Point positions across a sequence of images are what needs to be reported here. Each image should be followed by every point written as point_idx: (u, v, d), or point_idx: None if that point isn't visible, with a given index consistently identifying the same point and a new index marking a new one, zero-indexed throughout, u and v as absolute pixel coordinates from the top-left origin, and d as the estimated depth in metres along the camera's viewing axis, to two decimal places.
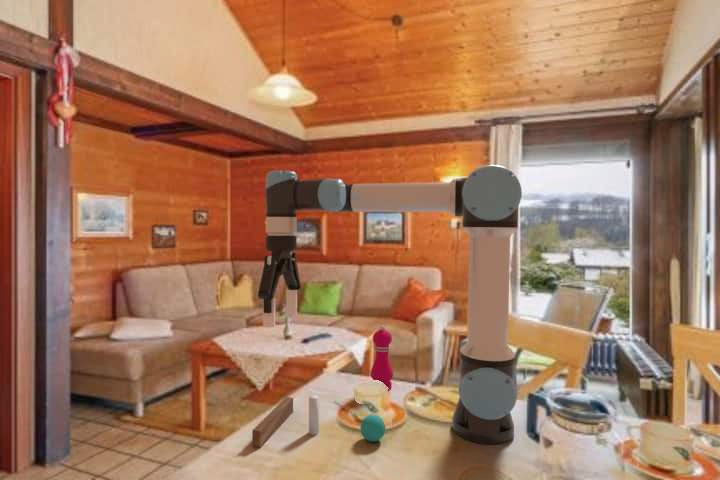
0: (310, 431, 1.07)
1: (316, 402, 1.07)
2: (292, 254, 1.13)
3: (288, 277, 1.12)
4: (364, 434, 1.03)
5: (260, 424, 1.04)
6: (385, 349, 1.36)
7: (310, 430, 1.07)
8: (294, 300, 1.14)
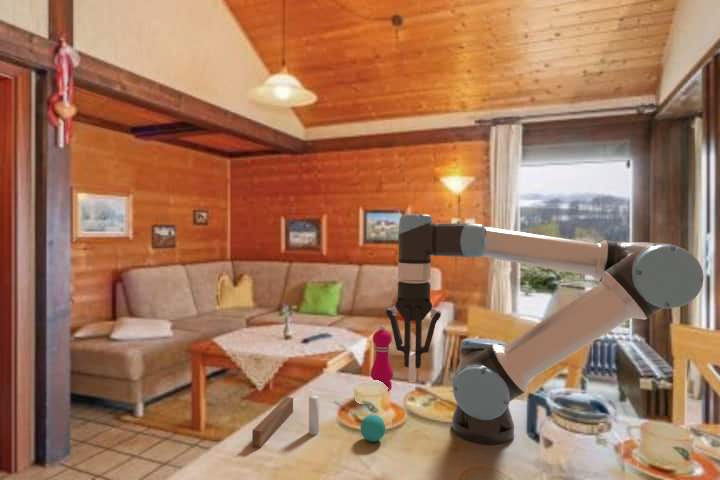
0: (310, 431, 1.07)
1: (316, 402, 1.07)
2: (436, 312, 1.00)
3: None
4: (364, 434, 1.03)
5: (260, 424, 1.04)
6: (385, 349, 1.36)
7: (310, 430, 1.07)
8: None
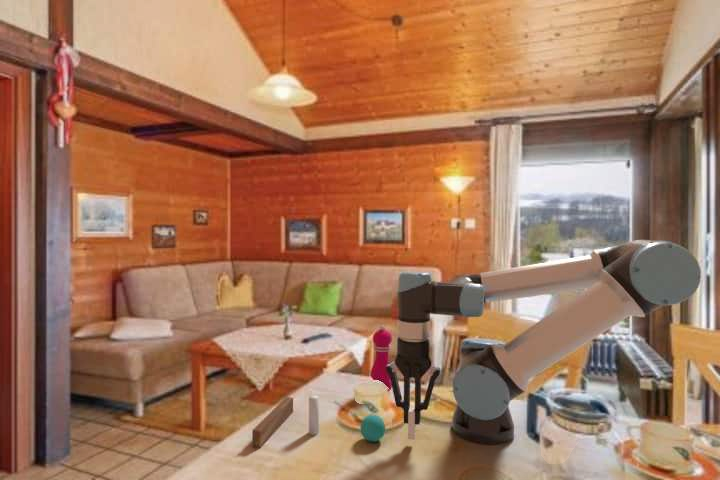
0: (310, 431, 1.07)
1: (316, 402, 1.07)
2: (435, 370, 1.00)
3: None
4: (364, 434, 1.03)
5: (260, 424, 1.04)
6: (385, 349, 1.36)
7: (310, 430, 1.07)
8: None
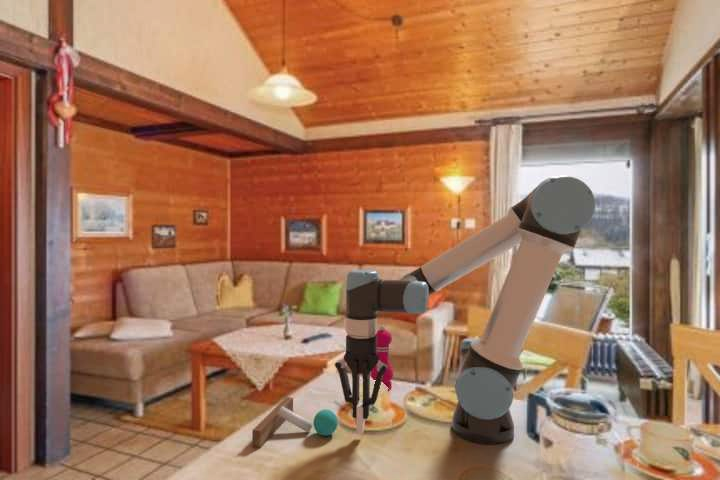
0: (306, 430, 1.08)
1: (283, 410, 1.09)
2: (382, 366, 1.03)
3: None
4: (326, 422, 1.05)
5: (260, 424, 1.04)
6: (385, 349, 1.36)
7: (305, 429, 1.08)
8: None
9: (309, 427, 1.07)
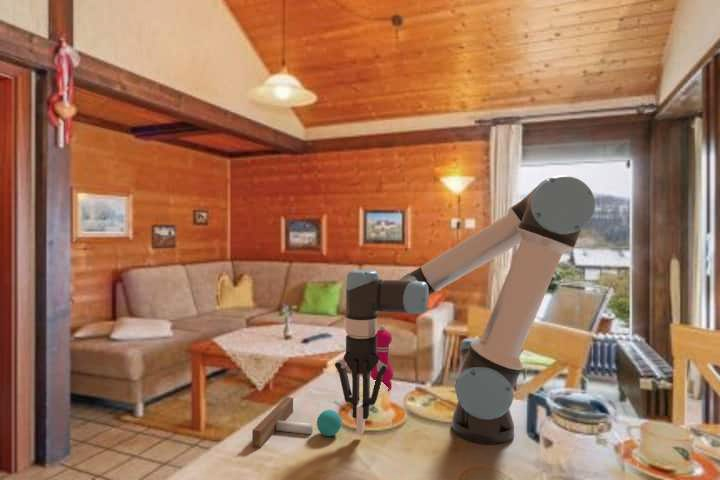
0: (307, 433, 1.07)
1: (279, 425, 1.09)
2: (382, 366, 1.03)
3: None
4: (331, 424, 1.05)
5: (260, 424, 1.04)
6: (385, 349, 1.36)
7: (306, 433, 1.07)
8: None
9: (309, 430, 1.07)
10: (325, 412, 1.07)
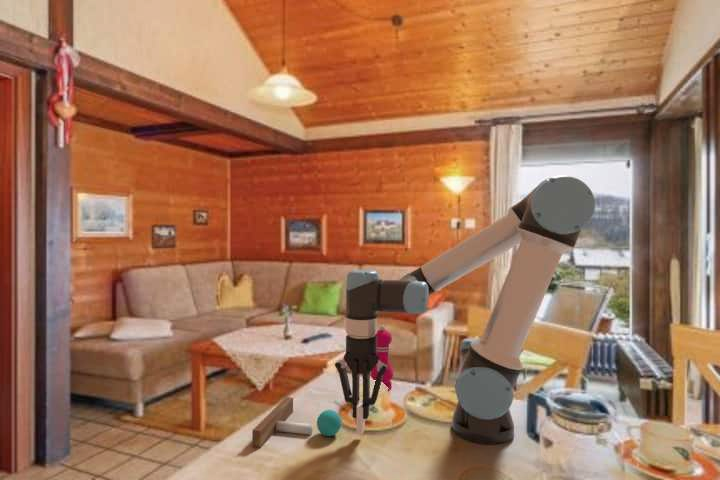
0: None
1: (279, 426, 1.08)
2: (382, 366, 1.03)
3: None
4: (331, 424, 1.05)
5: (260, 424, 1.04)
6: (385, 349, 1.36)
7: None
8: None
9: (309, 431, 1.07)
10: (325, 412, 1.07)
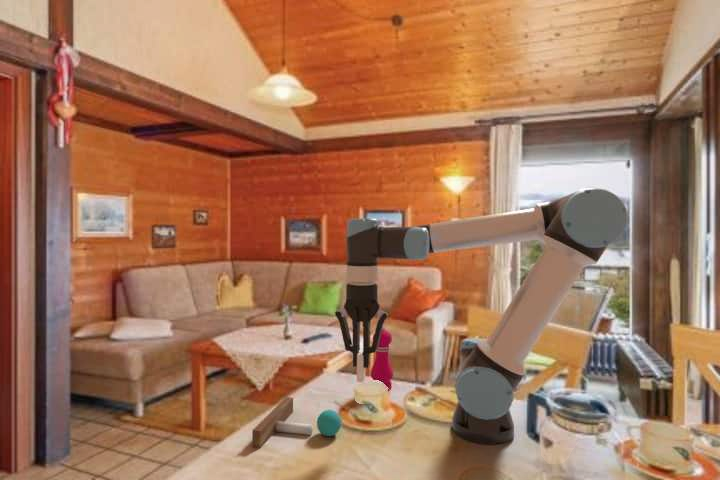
0: (307, 434, 1.07)
1: (279, 427, 1.08)
2: (383, 313, 1.03)
3: None
4: (331, 424, 1.05)
5: (260, 424, 1.04)
6: (385, 349, 1.36)
7: (306, 434, 1.07)
8: None
9: (308, 432, 1.07)
10: (325, 412, 1.07)
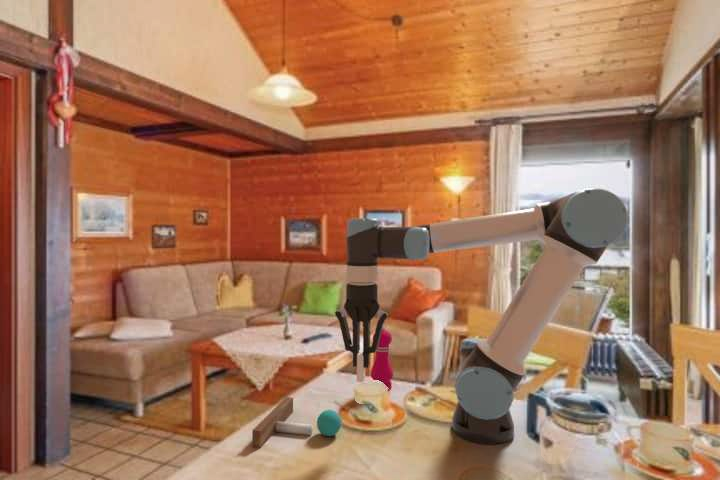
0: (307, 434, 1.07)
1: (278, 427, 1.08)
2: (383, 313, 1.03)
3: None
4: (331, 424, 1.05)
5: (260, 424, 1.04)
6: (385, 349, 1.36)
7: (306, 434, 1.07)
8: None
9: (308, 432, 1.07)
10: (325, 412, 1.07)
